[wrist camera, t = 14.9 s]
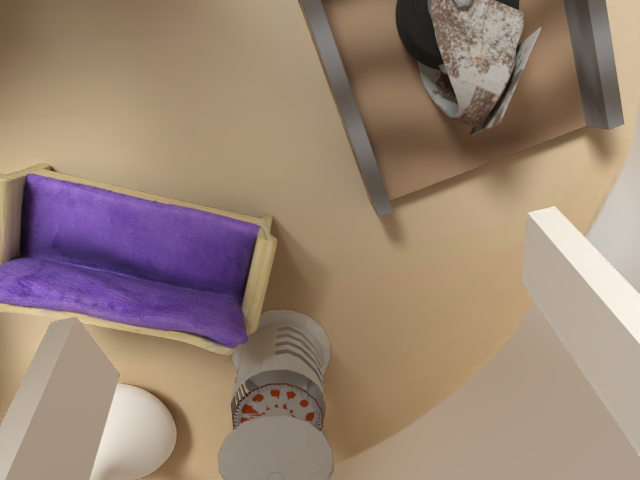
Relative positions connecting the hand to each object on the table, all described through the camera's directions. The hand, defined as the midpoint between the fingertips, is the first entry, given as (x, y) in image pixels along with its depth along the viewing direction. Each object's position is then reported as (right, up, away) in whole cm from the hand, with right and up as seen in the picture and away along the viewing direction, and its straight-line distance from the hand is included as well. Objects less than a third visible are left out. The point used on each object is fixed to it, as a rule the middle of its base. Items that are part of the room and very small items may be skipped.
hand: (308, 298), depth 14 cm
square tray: (+11, +17, +24) cm, 31 cm away
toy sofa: (-14, +2, +28) cm, 31 cm away
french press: (-3, -10, +33) cm, 34 cm away
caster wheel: (+10, +17, +22) cm, 30 cm away
